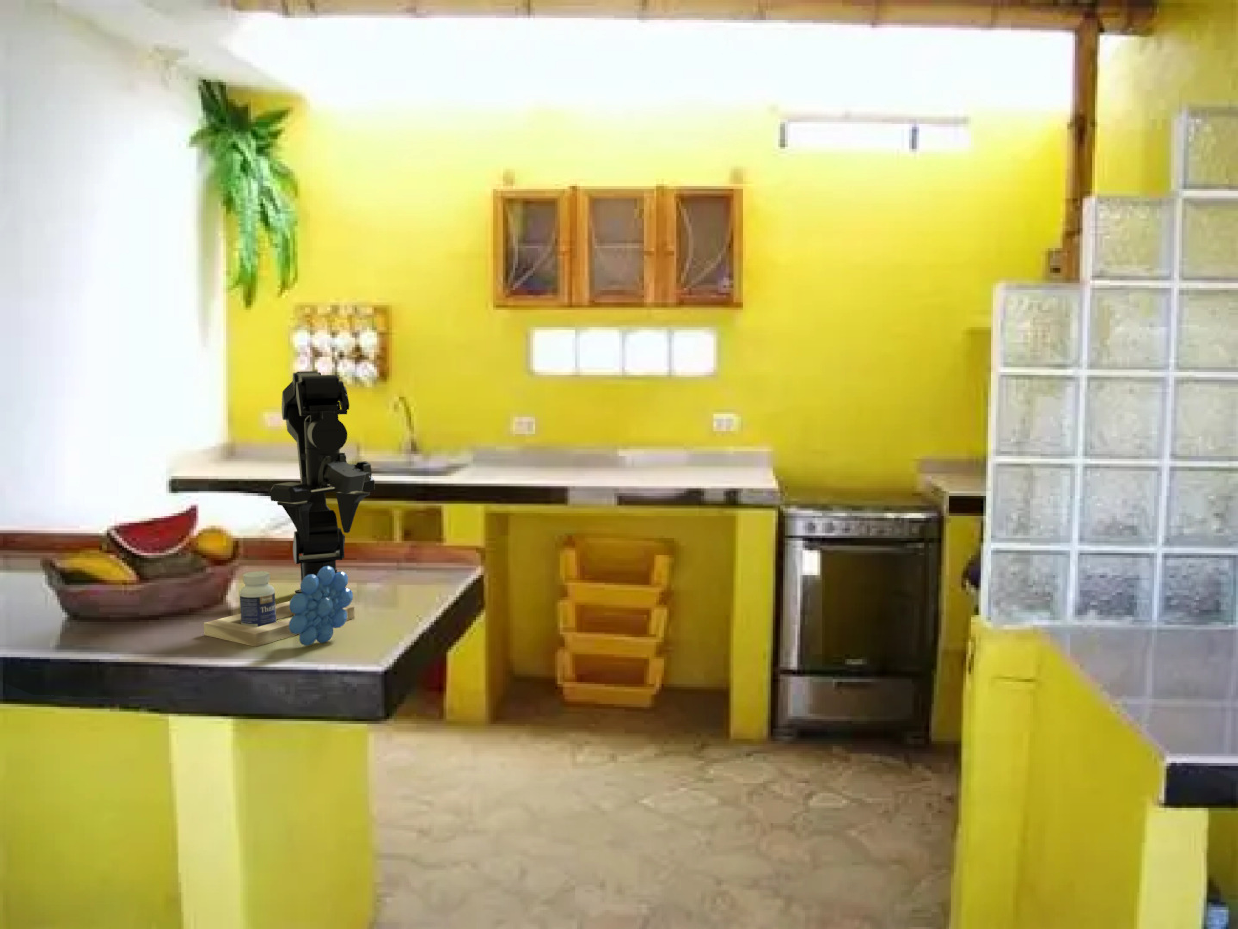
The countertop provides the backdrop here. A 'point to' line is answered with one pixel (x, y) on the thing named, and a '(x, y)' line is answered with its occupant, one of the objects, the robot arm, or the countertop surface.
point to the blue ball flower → (320, 606)
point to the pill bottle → (257, 600)
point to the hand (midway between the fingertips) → (326, 536)
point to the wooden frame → (260, 635)
